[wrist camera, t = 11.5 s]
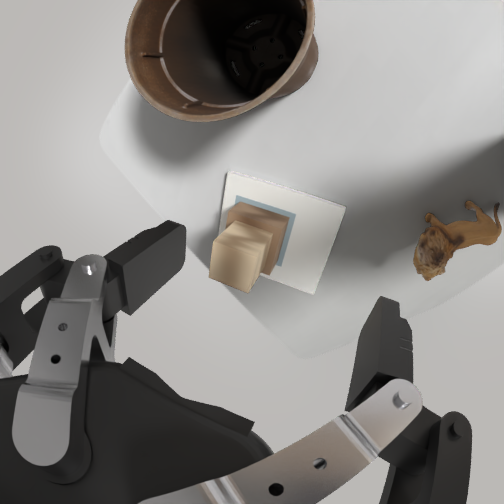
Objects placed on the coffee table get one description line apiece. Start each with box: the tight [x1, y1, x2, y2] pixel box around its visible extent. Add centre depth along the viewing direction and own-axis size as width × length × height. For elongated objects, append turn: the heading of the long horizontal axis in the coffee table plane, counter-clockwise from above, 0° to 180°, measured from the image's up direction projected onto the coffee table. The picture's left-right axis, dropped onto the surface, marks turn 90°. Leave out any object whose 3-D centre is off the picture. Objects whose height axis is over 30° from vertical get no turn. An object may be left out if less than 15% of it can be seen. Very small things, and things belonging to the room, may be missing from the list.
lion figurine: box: [413, 201, 502, 281], centre depth 26 cm, size 15×5×9 cm, turn 124°
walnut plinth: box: [225, 202, 290, 276], centre depth 38 cm, size 7×7×4 cm
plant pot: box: [125, 0, 318, 122], centre depth 22 cm, size 16×16×16 cm
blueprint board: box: [218, 171, 346, 295], centre depth 40 cm, size 16×14×1 cm
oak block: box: [209, 220, 273, 293], centre depth 34 cm, size 5×5×6 cm
